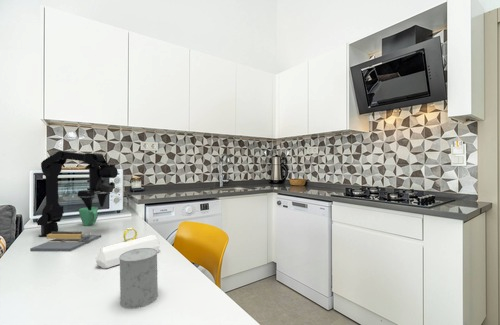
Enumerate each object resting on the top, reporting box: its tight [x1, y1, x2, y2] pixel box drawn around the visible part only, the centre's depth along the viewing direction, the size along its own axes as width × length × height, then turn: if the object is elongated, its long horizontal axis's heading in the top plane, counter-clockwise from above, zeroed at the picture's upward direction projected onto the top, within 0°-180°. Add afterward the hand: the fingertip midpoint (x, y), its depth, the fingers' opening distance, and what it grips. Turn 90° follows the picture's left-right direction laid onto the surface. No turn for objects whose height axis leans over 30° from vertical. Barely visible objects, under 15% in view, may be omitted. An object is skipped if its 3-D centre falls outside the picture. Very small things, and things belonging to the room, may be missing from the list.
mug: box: [78, 206, 99, 227], centre depth 150 cm, size 15×10×10 cm
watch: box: [122, 227, 138, 242], centre depth 120 cm, size 6×3×6 cm, turn 140°
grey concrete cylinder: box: [119, 248, 159, 310], centre depth 69 cm, size 10×10×12 cm
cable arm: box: [46, 231, 91, 240], centre depth 117 cm, size 19×4×3 cm, turn 87°
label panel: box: [29, 234, 102, 252], centre depth 117 cm, size 19×20×2 cm
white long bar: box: [95, 234, 161, 270], centre depth 97 cm, size 7×7×24 cm
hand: (96, 208), depth 127 cm, fingers open, 9 cm apart
